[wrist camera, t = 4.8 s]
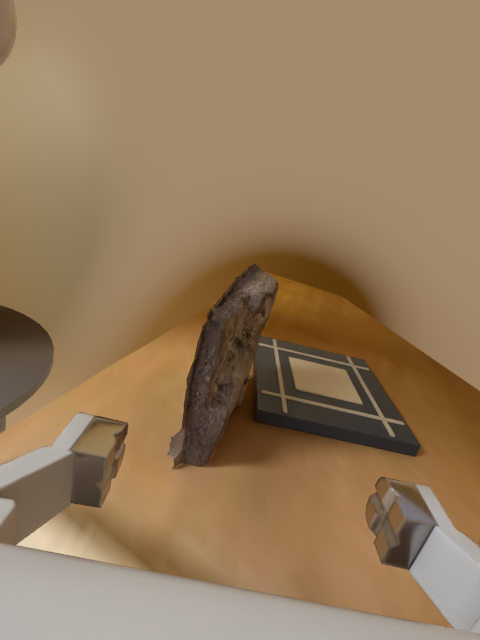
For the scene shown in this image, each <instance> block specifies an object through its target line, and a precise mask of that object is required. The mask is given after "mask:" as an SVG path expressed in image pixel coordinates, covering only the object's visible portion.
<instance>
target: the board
mask: <svg viewBox="0 0 480 640" xmlns="http://www.w3.org/2000/svg"><path fill="white" fill-rule="evenodd" d="M256 351H257V353H256V355H255V357H254V358H253V365H254V421H257V422H262V423H266V424H271V425H275V426H280V427H284V428H289V429H293V430H298V431H302V432H307V433H312V434H316V435H321V436H325V437H330V438H334V439H339V440H343V441H348V442H352V443H357V444H361V445H366V446H370V447H375V448H379V449H384V450H388V451H393V452H398V453H402V454H407V455H411V456H416V454H417V452H418V450H419V448H420V446H421V445H420V444H419V442H418V441H417V439H416V438H415V436H414V435H413V433H412V432H411V430H410V429H409V427H408V426H407V424H406V423H405V421H404V419H403V418H402V416H401V415H400V413H399V412H398V410H397V409H396V407H395V406H394V404H393V403H392V401H391V400H390V398H389V397H388V395H387V394H386V392H385V391H384V389H383V388H382V386H381V384H380V383H379V381H378V380H377V378H376V377H375V375H374V374H373V372H372V371H371V369H370V368H369V366H368V365H367V363H366V362H365V360H362V359H357V358H353V357H349V356H345V355H340V354H336V353H332V352H328V351H323V350H319V349H315V348H311V347H306V346H302V345H298V344H294V343H289V342H285V341H281V340H276V339H272V338H268V337H264V336H261V337H260V339H259V342H258V348H257V350H256Z"/></svg>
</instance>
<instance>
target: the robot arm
mask: <svg viewBox="0 0 480 640" xmlns="http://www.w3.org/2000/svg"><path fill="white" fill-rule="evenodd" d="M16 28H17V20H16V11H15V5H14V1H13V0H0V66H1V65H2V64H3V63H4V62H5V60H6V59H7V58H8V56H9V54H10V52H11V50H12V48H13V45H14V42H15V38H16ZM127 431H128V423H126V422H122V421H117V420H113V419H109V418H105V417H100V416H95V415H91V414H86V413H82V412H79V413H77V414H76V415H75V416H74V417H73V419H72V420H71V421H70V422H69V424H68V425H67V426H66V428H65V429H64V430H63V431H62V433H61V434H60V435H59V436H58V438H57V439H56V440H55V442H54V443H53V444H52V445H51V447H48V446H44V447H42V448H39V449H37V450H35V451H33V452H30V453H28V454H26V455H23V456H21V457H19V458H17V459H14V460H12V461H10V462H7V463H5V464H3V465H1V466H0V640H480V547H479V546H478V545H477V544H476V543H474V542H473V541H472V540H471V539H470V538H469V537H467V536H466V535H465V534H464V533H463V532H461V531H457V530H456V528H455V527H454V525H453V524H452V522H451V520H450V519H449V517H448V515H447V514H446V512H445V510H444V509H443V507H442V505H441V504H440V502H439V501H438V499H437V497H436V496H435V494H434V492H433V491H432V489H431V488H430V487H428V486H427V485H422V484H417V483H409V482H404V481H400V480H395V479H390V478H385V477H381V478H380V479H378V481H377V483H376V485H375V488H376V491H377V492H376V493H375V494H373V495H371V496H370V497H369V500H368V502H367V504H366V521H367V524H368V527H369V529H370V530H371V531H372V532H373V533H374V535H375V536H376V538H375V540H374V544H375V547H376V550H377V553H378V556H379V558H380V561H381V564H385V565H389V566H394V567H398V568H403V569H407V570H409V573H410V574H411V575H412V576H413V578H414V579H415V580H416V581H417V583H418V584H419V585H420V586H421V588H422V589H423V590H424V591H425V593H426V594H427V595H428V596H429V598H430V599H431V600H432V602H433V603H434V604H435V605H436V607H437V608H438V609H439V610H440V612H441V613H442V614H443V615H444V617H445V618H446V619H447V620H448V622H449V623H450V624H451V625H452V627H453V628H454V629H453V628H448V627H442V626H437V625H432V624H426V623H421V622H416V621H411V620H405V619H400V618H395V617H390V616H384V615H379V614H374V613H369V612H364V611H358V610H353V609H348V608H343V607H337V606H332V605H327V604H322V603H317V602H311V601H306V600H301V599H295V598H290V597H285V596H280V595H274V594H269V593H264V592H259V591H253V590H248V589H243V588H238V587H232V586H227V585H222V584H217V583H211V582H206V581H201V580H196V579H190V578H185V577H180V576H175V575H169V574H164V573H159V572H154V571H148V570H143V569H138V568H133V567H127V566H122V565H117V564H111V563H106V562H101V561H96V560H90V559H85V558H80V557H75V556H69V555H64V554H59V553H54V552H48V551H43V550H38V549H33V548H27V547H22V546H17V545H16V544H18V543H19V542H20V541H22V540H23V539H24V538H26V537H27V536H29V535H30V534H31V533H33V532H34V531H35V530H37V529H38V528H39V527H41V526H42V525H44V524H45V523H46V522H48V521H49V520H50V519H52V518H53V517H54V516H56V515H57V514H58V513H60V512H61V511H63V510H64V509H65V508H67V507H68V506H69V505H70V503H74V504H80V505H86V506H92V507H98V508H101V507H102V505H103V503H104V501H105V498H106V496H107V494H108V492H109V490H110V486H111V480H112V479H113V478H115V477H116V475H117V473H118V471H119V468H120V466H121V463H122V460H123V456H124V451H125V444H124V442H123V441H124V439H125V437H126V435H127Z"/></svg>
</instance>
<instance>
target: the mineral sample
mask: <svg viewBox="0 0 480 640" xmlns="http://www.w3.org/2000/svg"><path fill="white" fill-rule="evenodd" d="M277 291H278V282H277V281H276V279H274V278H273V277H271V276H270V275H269V274H267V273H265V272H264V271H262V270H261V269H260V268H259V267H258V266H257V265H256V264H254V265H252V266H250V267H248V269H247V270H246V271H244V272H243V273H242V274H241V275H240V276H239V277H236V280H235V281H234V282H233V283H232V285H231V286H230V287H229V288H228V289H227V291H226V292H225V293H224V294H223V295H222V297H221V298H220V299H219V300H218V301H217V302H216V304H215V305H214V306H213V310H212V309H210V310H209V312H208V314H207V317H206V318H207V321H206V323H205V324H204V325H203V327H202V331H201V334H200V337H199V340H198V343H197V348H196V352H195V359H194V361H193V364H192V366H191V369H190V372H189V374H188V377H187V389H186V394H185V401H184V414H183V421H182V429H181V430H180V431H179V432H178V433H177V434H176V435H175V436H174V437H171V443H170V449H169V452H168V455H172V459H171V460H174V466H173V468H175V467H176V466H178V465H180V464H181V463H184V464H191V465H195V466H199V467H200V466H203V465H205V464H206V463H207V462H208V461H209V459H210V458H211V457H212V455H213V453H214V451H215V449H216V447H217V445H218V443H219V441H220V439H221V438H222V436H223V434H224V432H225V429H226V425H227V422H228V419H229V417H230V415H231V413H232V411H233V409H234V408H235V407H237V406H240V405H241V404H242V401H243V399H244V395H245V390H246V387H247V383H248V378H249V371H250V369H251V365H252V361H253V358H254V357H255V355H256V353H257V351H256V350H257V348H258V342H259V339H260V337H261V333H262V330H263V329H264V327H265V324H266V321H267V320H268V318H269V316H270V312H271V309H272V307H273V303H274V300H275V297H276V294H277ZM173 468H172V469H173Z"/></svg>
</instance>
